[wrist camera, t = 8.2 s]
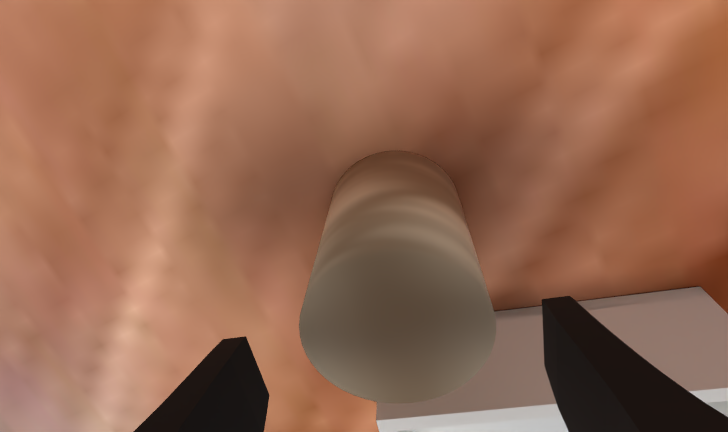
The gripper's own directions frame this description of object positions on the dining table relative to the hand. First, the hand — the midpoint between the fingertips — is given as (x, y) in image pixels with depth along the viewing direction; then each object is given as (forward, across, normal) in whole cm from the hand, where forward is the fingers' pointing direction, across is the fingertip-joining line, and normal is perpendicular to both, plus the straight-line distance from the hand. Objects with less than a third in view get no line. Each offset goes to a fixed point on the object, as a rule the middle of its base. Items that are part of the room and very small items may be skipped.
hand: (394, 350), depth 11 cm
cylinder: (+8, 0, 0) cm, 8 cm away
